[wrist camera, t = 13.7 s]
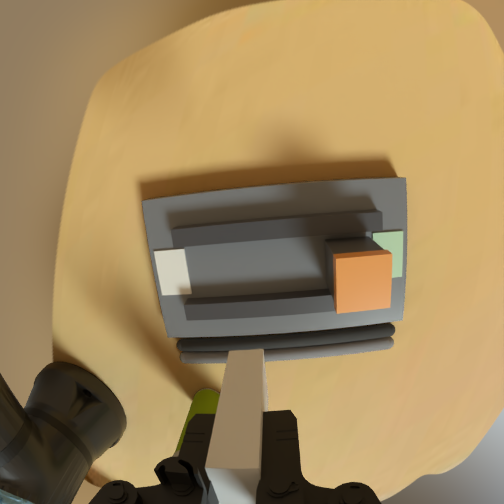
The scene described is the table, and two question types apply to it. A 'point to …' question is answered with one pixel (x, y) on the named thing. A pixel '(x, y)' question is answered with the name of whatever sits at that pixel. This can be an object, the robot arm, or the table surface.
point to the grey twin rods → (290, 344)
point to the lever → (358, 274)
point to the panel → (269, 254)
